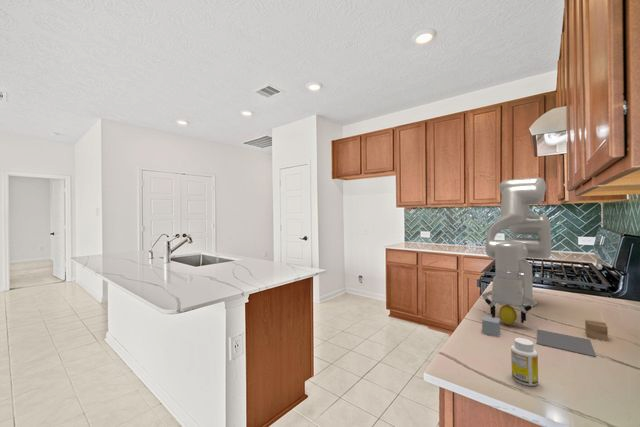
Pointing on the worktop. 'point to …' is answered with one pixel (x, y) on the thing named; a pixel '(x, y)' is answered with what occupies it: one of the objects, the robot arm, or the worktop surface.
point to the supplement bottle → (524, 362)
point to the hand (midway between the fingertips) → (507, 319)
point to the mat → (565, 342)
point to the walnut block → (596, 330)
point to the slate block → (491, 326)
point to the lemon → (507, 314)
